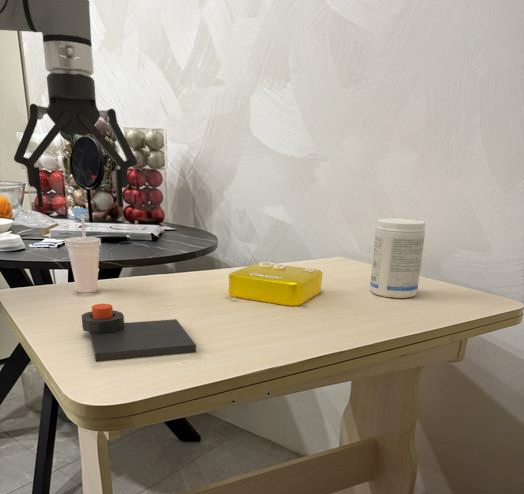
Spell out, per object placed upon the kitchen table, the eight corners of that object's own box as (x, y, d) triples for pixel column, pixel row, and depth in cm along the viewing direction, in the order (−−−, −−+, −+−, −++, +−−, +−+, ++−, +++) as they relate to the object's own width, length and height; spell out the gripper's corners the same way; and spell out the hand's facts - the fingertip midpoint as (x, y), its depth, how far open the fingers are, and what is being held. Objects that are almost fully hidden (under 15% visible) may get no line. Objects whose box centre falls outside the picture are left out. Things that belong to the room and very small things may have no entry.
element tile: (224, 296, 99) (225, 271, 98) (257, 281, 112) (258, 259, 111) (298, 307, 94) (299, 281, 92) (323, 291, 107) (325, 267, 105)
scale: (88, 363, 65) (87, 340, 64) (82, 330, 77) (80, 311, 76) (196, 352, 70) (196, 331, 69) (174, 323, 82) (174, 305, 81)
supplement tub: (423, 293, 108) (434, 221, 103) (406, 302, 101) (417, 224, 96) (380, 285, 113) (388, 216, 108) (360, 293, 106) (368, 219, 101)
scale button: (93, 321, 73) (92, 309, 72) (91, 315, 75) (91, 304, 75) (114, 320, 74) (113, 308, 73) (111, 314, 76) (111, 302, 76)
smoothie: (109, 287, 102) (105, 214, 97) (96, 295, 96) (91, 217, 91) (78, 285, 103) (71, 212, 98) (63, 293, 97) (55, 215, 92)
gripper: (-16, 64, 79) (3, 208, 86) (149, 78, 88) (154, 208, 95) (-12, 71, 85) (6, 204, 93) (142, 83, 94) (147, 204, 102)
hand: (81, 206), depth 94 cm, fingers open, 13 cm apart
